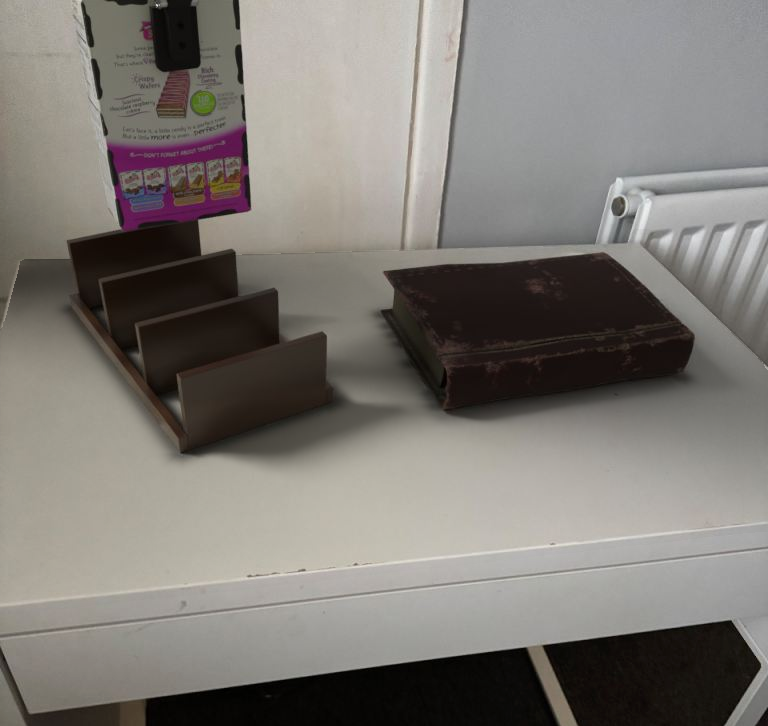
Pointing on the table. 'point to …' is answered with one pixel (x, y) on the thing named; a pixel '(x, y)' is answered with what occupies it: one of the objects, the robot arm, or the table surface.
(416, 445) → the table surface
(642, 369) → the diary
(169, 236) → the rack
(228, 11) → the candy bar box
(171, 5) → the robot arm
